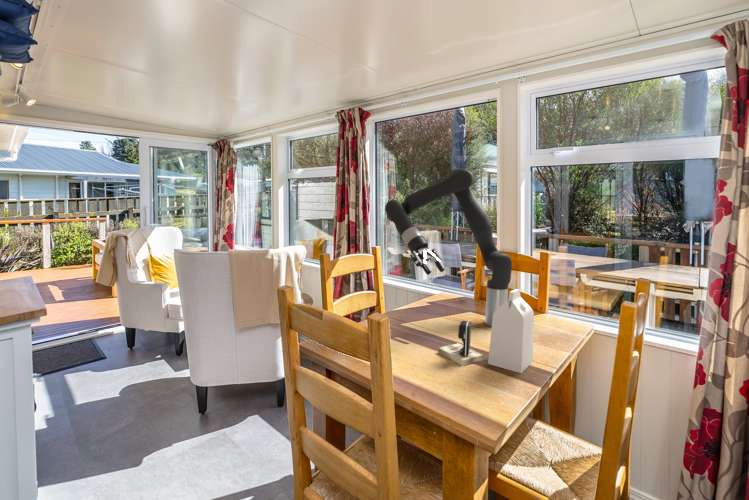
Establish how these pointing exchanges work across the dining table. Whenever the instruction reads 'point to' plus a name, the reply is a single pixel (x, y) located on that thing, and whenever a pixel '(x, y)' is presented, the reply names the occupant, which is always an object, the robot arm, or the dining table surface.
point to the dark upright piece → (465, 336)
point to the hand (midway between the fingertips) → (436, 272)
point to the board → (454, 355)
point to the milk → (512, 334)
